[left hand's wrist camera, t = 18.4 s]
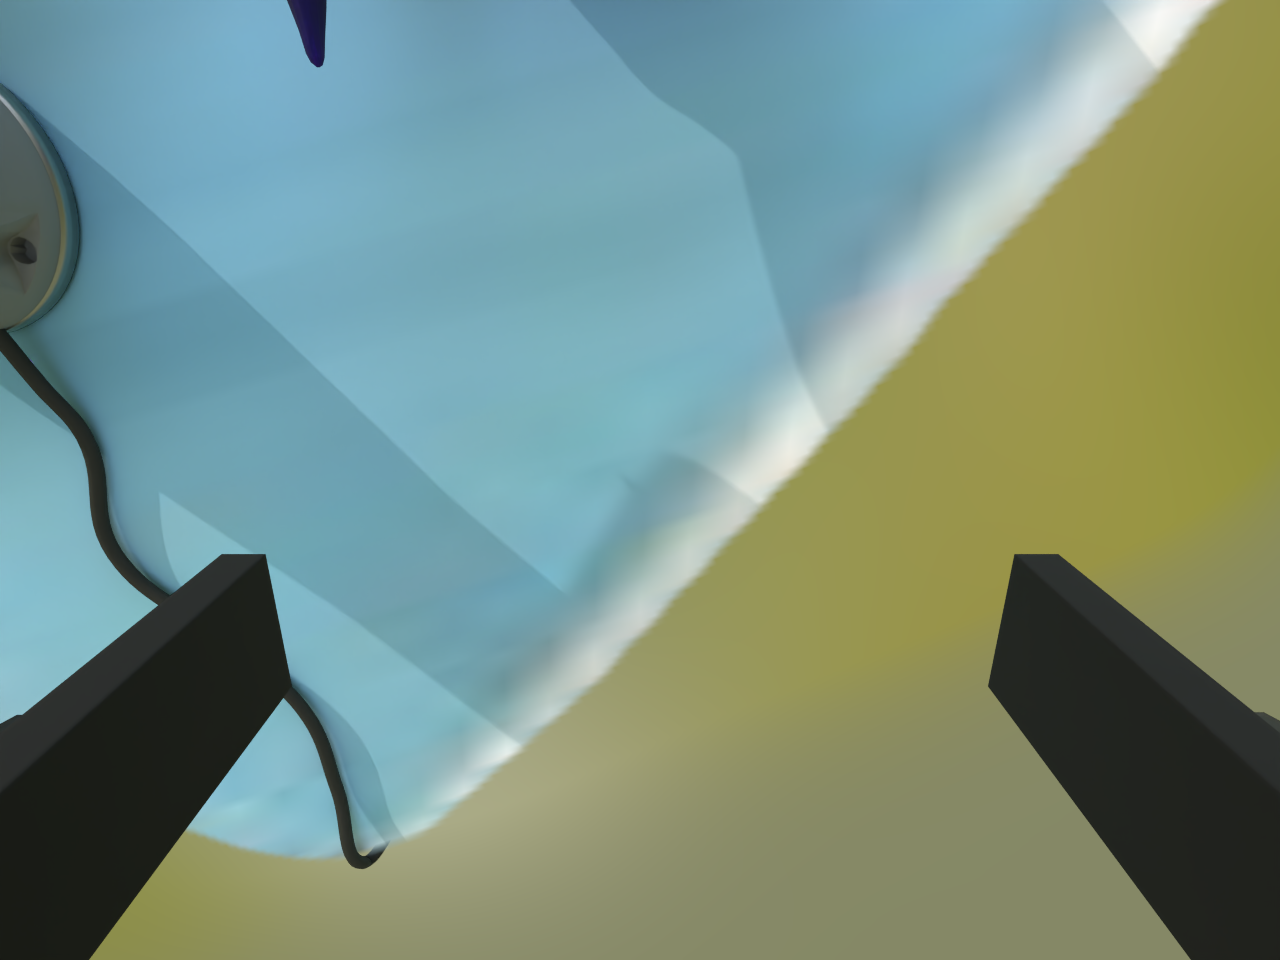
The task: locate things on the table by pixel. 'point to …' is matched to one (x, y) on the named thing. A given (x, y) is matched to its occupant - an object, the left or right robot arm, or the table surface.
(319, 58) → the toy
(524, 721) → the table surface
